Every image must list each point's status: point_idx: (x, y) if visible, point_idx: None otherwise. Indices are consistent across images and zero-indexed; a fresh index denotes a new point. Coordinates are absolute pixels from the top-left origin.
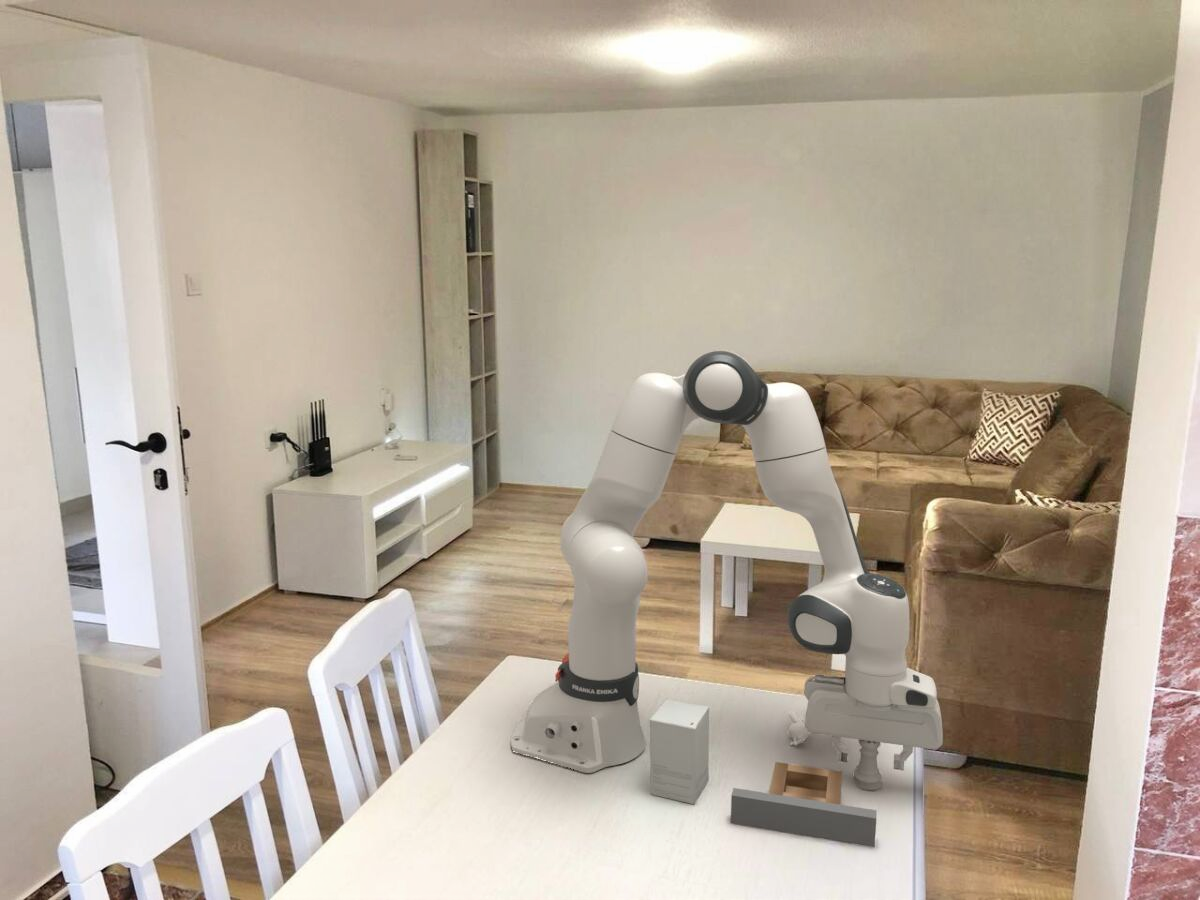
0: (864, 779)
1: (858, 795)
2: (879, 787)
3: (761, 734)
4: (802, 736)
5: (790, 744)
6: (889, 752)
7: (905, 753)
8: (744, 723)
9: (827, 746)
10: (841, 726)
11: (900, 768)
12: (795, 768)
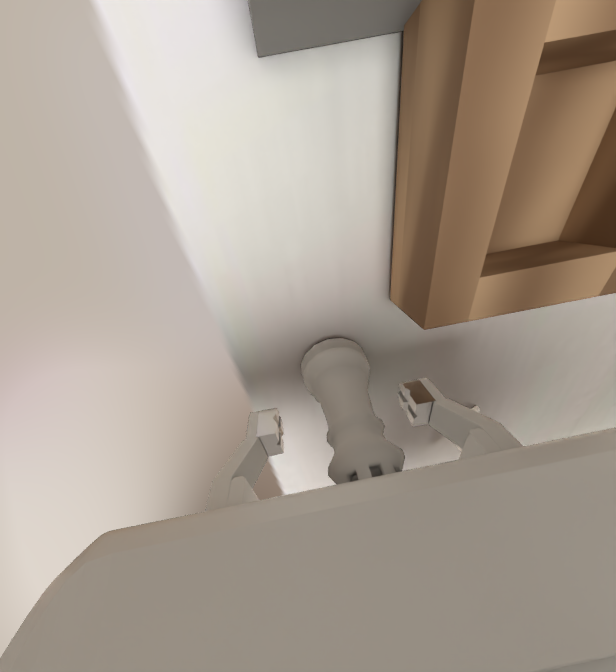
0: (343, 354)
1: (345, 312)
2: (304, 359)
3: (521, 411)
4: None
5: (478, 407)
6: (307, 453)
7: (238, 467)
8: (542, 423)
9: (410, 427)
10: (559, 517)
11: (257, 414)
12: (586, 277)
